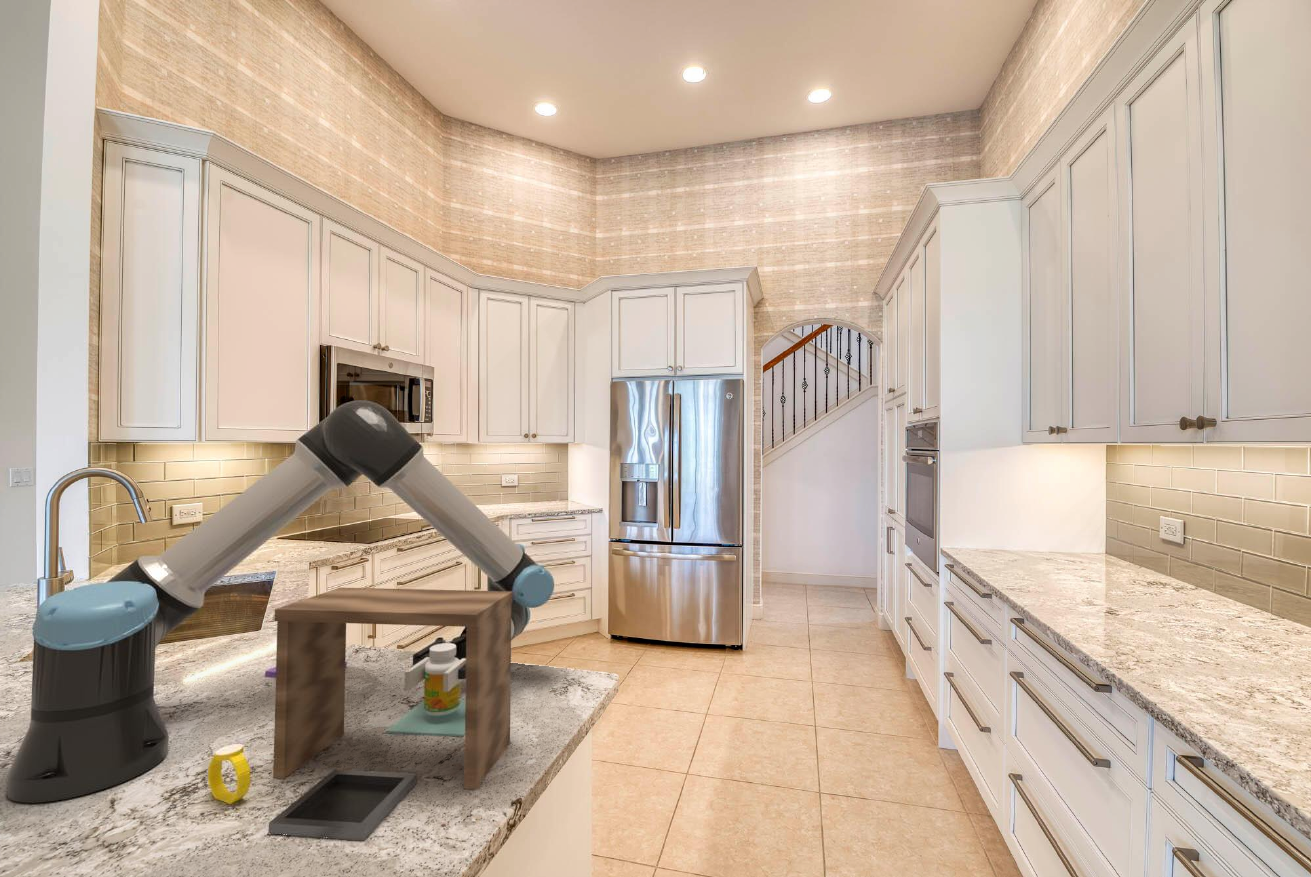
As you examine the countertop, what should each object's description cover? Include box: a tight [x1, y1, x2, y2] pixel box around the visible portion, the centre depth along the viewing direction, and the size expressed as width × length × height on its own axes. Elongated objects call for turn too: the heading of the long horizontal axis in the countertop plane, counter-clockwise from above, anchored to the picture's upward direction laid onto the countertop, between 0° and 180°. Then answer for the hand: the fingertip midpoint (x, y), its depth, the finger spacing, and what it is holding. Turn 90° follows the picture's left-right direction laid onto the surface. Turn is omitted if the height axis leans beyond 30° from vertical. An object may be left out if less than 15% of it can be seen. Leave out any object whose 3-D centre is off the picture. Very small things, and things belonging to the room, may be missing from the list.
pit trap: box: [267, 769, 418, 842], centre depth 67 cm, size 11×11×1 cm
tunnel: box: [272, 587, 513, 791], centre depth 79 cm, size 13×27×22 cm, turn 84°
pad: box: [385, 699, 466, 738], centre depth 91 cm, size 12×12×1 cm
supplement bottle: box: [423, 643, 462, 716], centre depth 91 cm, size 5×5×10 cm
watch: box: [207, 743, 251, 805], centre depth 69 cm, size 6×3×6 cm, turn 67°
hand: (426, 681), depth 86 cm, fingers closed on supplement bottle, 5 cm apart
